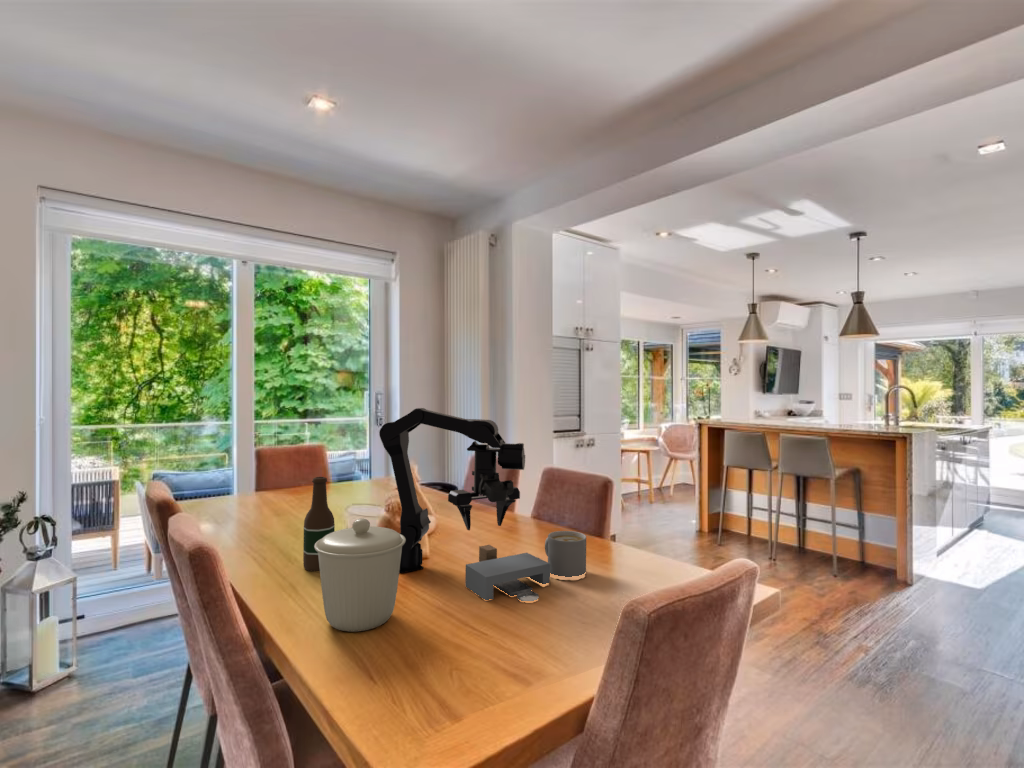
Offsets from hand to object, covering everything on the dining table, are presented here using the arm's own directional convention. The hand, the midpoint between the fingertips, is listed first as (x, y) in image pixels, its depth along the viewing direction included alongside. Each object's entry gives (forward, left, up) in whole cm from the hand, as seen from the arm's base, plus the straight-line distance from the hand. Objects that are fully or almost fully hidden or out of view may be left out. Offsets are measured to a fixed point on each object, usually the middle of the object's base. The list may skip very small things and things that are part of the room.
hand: (484, 527), depth 137 cm
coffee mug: (+18, -10, -12) cm, 24 cm away
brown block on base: (0, -9, -12) cm, 15 cm away
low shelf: (0, -11, -12) cm, 16 cm away
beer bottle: (-36, +27, -12) cm, 46 cm away
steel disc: (0, -20, -12) cm, 23 cm away
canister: (-36, -11, -12) cm, 39 cm away
